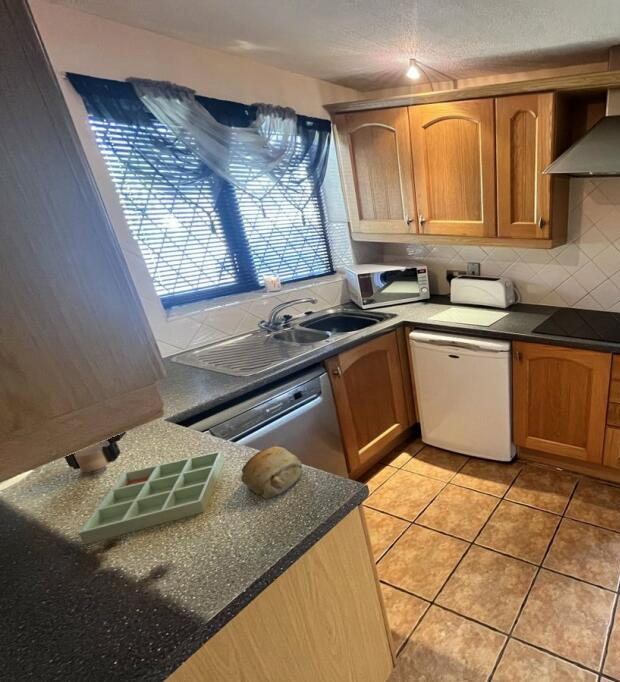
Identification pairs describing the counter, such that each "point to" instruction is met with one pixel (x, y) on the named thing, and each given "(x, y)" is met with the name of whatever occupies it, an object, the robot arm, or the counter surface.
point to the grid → (154, 496)
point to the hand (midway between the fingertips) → (96, 462)
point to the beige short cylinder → (91, 458)
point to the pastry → (271, 471)
